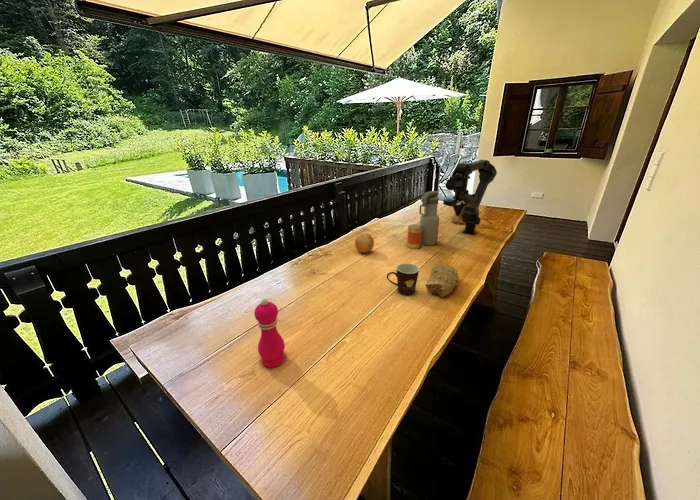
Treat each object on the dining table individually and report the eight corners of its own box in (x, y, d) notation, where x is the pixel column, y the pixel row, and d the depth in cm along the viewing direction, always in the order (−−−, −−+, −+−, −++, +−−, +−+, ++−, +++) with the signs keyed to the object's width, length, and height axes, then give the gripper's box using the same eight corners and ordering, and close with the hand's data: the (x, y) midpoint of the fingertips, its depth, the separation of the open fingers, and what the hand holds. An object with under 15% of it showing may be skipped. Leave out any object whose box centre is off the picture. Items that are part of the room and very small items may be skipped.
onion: (364, 257, 148) (364, 238, 144) (350, 251, 155) (350, 233, 151) (377, 252, 154) (378, 233, 150) (364, 246, 161) (364, 229, 157)
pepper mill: (262, 351, 88) (252, 292, 80) (287, 349, 89) (280, 290, 81) (257, 369, 81) (246, 307, 74) (284, 367, 82) (276, 305, 74)
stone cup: (468, 225, 190) (471, 202, 184) (449, 223, 196) (452, 200, 190) (473, 219, 202) (476, 197, 196) (455, 217, 208) (457, 195, 202)
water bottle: (425, 247, 159) (430, 194, 148) (414, 241, 167) (417, 191, 156) (440, 243, 163) (446, 192, 152) (429, 238, 171) (433, 189, 160)
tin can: (410, 242, 166) (411, 223, 161) (423, 245, 161) (424, 225, 157) (404, 246, 160) (405, 227, 156) (417, 249, 156) (418, 229, 152)
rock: (450, 303, 112) (468, 273, 124) (447, 286, 108) (466, 257, 121) (418, 297, 120) (438, 270, 133) (414, 281, 117) (435, 255, 130)
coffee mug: (418, 287, 120) (420, 265, 117) (415, 298, 113) (417, 274, 109) (390, 283, 124) (391, 261, 120) (385, 293, 117) (386, 270, 113)
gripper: (460, 192, 149) (456, 222, 155) (485, 188, 157) (481, 217, 163) (443, 188, 158) (440, 217, 164) (469, 185, 166) (465, 212, 172)
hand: (457, 216), depth 166 cm, fingers closed
